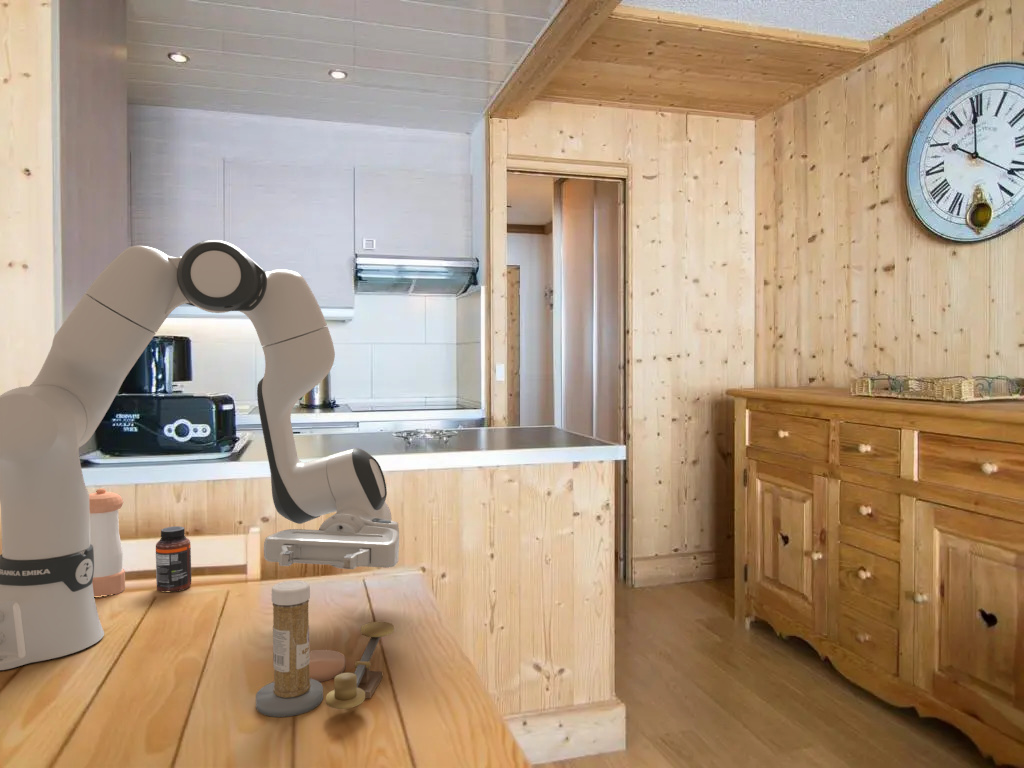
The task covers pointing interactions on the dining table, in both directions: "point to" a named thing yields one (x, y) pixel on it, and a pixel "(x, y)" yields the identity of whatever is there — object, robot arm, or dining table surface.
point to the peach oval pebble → (325, 664)
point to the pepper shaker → (106, 543)
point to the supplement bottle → (173, 560)
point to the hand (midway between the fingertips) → (315, 562)
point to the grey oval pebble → (288, 701)
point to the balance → (359, 672)
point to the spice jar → (291, 638)
